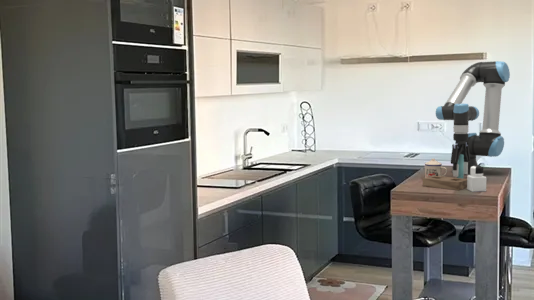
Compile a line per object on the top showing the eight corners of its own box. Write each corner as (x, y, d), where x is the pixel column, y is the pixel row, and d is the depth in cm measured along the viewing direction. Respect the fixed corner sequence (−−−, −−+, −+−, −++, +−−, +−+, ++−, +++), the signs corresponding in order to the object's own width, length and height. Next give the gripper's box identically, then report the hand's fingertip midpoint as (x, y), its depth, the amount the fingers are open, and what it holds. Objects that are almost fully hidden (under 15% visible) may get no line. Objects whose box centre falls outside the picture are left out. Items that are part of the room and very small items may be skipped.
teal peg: (458, 182, 333) (459, 154, 331) (464, 182, 330) (464, 154, 329) (455, 182, 330) (456, 154, 329) (461, 183, 328) (461, 155, 327)
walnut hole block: (434, 183, 331) (434, 175, 331) (469, 187, 317) (469, 179, 317) (422, 186, 323) (422, 178, 322) (458, 190, 309) (458, 182, 308)
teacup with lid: (422, 180, 341) (422, 159, 339) (426, 178, 349) (426, 157, 347) (445, 181, 335) (445, 160, 334) (448, 179, 343) (448, 158, 342)
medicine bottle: (480, 189, 311) (481, 165, 310) (486, 191, 304) (486, 167, 303) (466, 189, 311) (467, 165, 309) (471, 191, 304) (472, 167, 302)
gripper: (464, 131, 338) (463, 172, 340) (443, 134, 323) (443, 177, 325) (477, 131, 333) (476, 173, 335) (457, 134, 317) (456, 178, 320)
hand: (460, 175), depth 330 cm, fingers open, 9 cm apart
